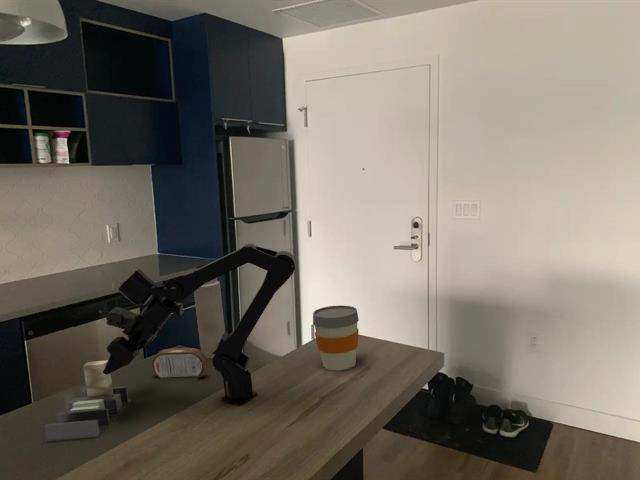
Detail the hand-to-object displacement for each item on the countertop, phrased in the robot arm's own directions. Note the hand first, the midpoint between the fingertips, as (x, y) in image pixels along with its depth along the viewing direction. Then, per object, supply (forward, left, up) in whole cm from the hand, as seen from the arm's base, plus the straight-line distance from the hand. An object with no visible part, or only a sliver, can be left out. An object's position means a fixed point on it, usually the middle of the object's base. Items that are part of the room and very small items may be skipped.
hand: (112, 366), depth 119 cm
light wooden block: (+3, +2, -10) cm, 11 cm away
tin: (0, -19, -11) cm, 22 cm away
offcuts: (-1, +8, -10) cm, 13 cm away
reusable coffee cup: (-35, -45, -11) cm, 58 cm away
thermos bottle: (+6, -37, -11) cm, 39 cm away
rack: (-1, +7, -11) cm, 13 cm away
